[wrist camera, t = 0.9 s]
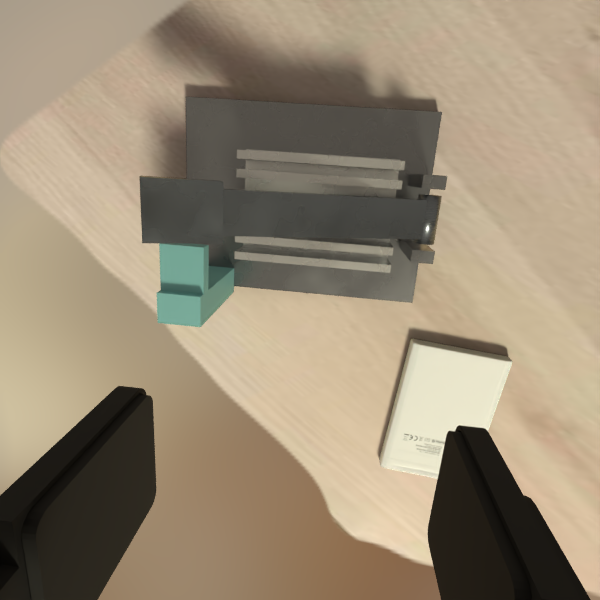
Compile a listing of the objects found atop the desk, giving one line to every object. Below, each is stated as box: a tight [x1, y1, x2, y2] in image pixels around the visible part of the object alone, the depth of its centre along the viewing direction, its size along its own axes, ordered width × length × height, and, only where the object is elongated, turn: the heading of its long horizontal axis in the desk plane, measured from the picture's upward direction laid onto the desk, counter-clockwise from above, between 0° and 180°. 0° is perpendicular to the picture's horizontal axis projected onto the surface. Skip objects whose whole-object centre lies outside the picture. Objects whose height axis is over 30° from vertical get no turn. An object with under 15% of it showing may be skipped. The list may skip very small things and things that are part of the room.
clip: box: [157, 243, 234, 327], centre depth 30 cm, size 3×5×8 cm, turn 176°
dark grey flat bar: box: [140, 176, 442, 245], centre depth 24 cm, size 18×3×1 cm, turn 86°
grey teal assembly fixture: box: [186, 97, 447, 303], centre depth 29 cm, size 18×14×7 cm
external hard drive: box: [379, 338, 512, 479], centre depth 37 cm, size 2×8×12 cm
